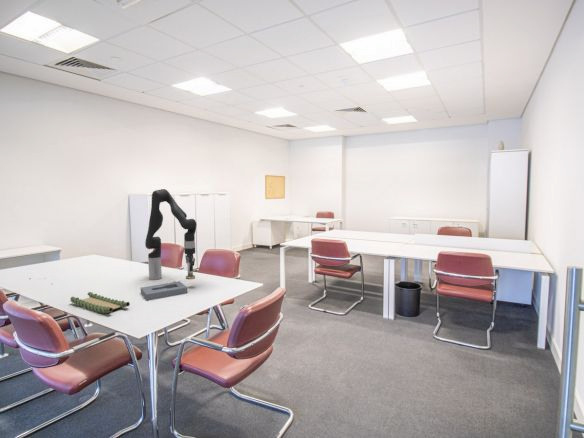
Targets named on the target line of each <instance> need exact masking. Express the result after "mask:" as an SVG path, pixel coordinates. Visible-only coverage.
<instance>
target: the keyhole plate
mask: <svg viewBox="0 0 584 438" xmlns="http://www.w3.org/2000/svg"><path fill="white" fill-rule="evenodd" d="M187 293H188V287H187V286H186V285H185V284H183V283H182V282H181V281H180V280H179V281H172V282H166V283H158V284H154V285H148V286H147V285H146V286H141V287H140V294H141V295H142V297H143V298H144V299H145V301H152V300H158V299H162V298H168V297H174V296H179V295H184V294H187Z"/></svg>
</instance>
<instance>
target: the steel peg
mask: <svg viewBox="0 0 584 438" xmlns="http://www.w3.org/2000/svg"><path fill="white" fill-rule="evenodd" d="M190 262H191V261H190ZM185 279H186V280H194V279H196V274H195V275H194V270H193V271H190V267H189V263H188V265H187V275H186V276H185Z"/></svg>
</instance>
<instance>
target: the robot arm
mask: <svg viewBox="0 0 584 438" xmlns="http://www.w3.org/2000/svg"><path fill="white" fill-rule="evenodd" d="M151 193H152V194H151V207H150V215H149V221H148V229H147V234H146V237H145V242H144V243H145V248H146V249H148V250H153V251H151V252H149V253H148V256H147V257H148V258H147V261H148V263H147V264H148V278H149V280H151V281H155V280H160V279H162V278H163V277H162V275H163V274H162V256H161V255H162V239H161V237H160V236H155V234H156V233H157V232H158V231H159V230H160V228H162V226H163V221H164V216H163V213H162V212H161V210H160V206H161V204H162V203H164V202H166V203H167V204H169V207H170V212H171V214H172V216H174V217H175V219H176V220H177V221H178V222H179V225H180V227H182V228H183V230H186V231H185V233H184V235H183V236H184V237H183V239H184V240H183V251H184V255H185V263H186V265H187V266H188V263H189V267H190V271H193V272H194V266H195V261H196V259H195V257H194V254H196V241H195V237H196V236H195V234H196V231H197V221H196V220H195V219H194V218H188V219H187V217H188V216H187V213H186V212H185V211H184V210H183V209H182V208H181V207H180V206H179V205H178V203H177V202H176V200H175V198H173V196H172V195H171V193H170V192H169V190H167V189H165V188H161V189H157V190H156V189H155V190H154V191H152V192H151ZM190 261H191V262H190Z"/></svg>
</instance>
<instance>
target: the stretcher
mask: <svg viewBox="0 0 584 438" xmlns="http://www.w3.org/2000/svg"><path fill="white" fill-rule="evenodd" d="M87 296H88V297H87V298H83V299H81V298H79V297H75V296H71V297H70V302H71V303H73V304H74V305H75V306H78V307H81V308H83V309H86V310H89V311H92V312H96V313H101V314H108V313H112V312H113V311H114V310H116V309H119V308H127V307H130V305H131V303H130V302H129V301H126V302H125V300H118V299H114V298H112V299H111V298H110V297H107V296H103V295H101V294H97V293H93V291H92V292H91V291H88V292H87Z"/></svg>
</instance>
